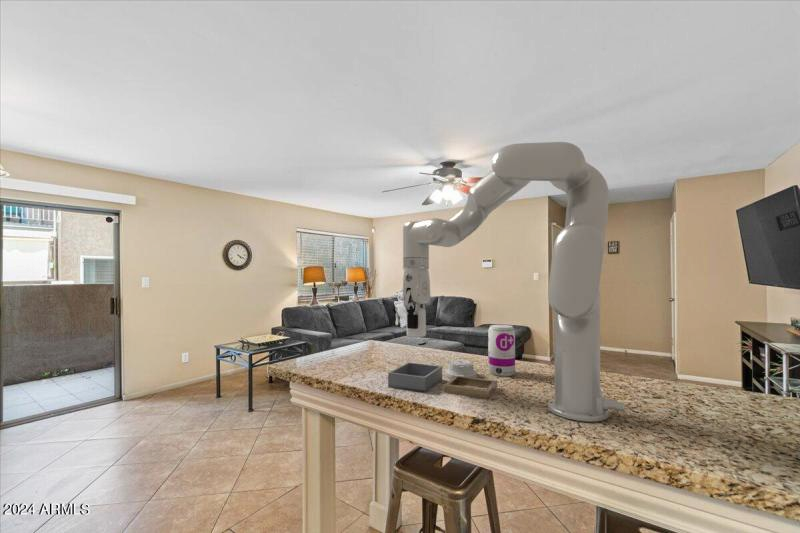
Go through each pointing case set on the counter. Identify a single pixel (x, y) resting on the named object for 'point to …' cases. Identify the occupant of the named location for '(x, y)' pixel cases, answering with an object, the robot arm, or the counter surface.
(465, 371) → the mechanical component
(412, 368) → the bin
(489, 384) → the shallow brown tray
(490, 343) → the supplement can
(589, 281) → the robot arm
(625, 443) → the counter surface
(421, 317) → the eye dropper bottle
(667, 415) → the counter surface
